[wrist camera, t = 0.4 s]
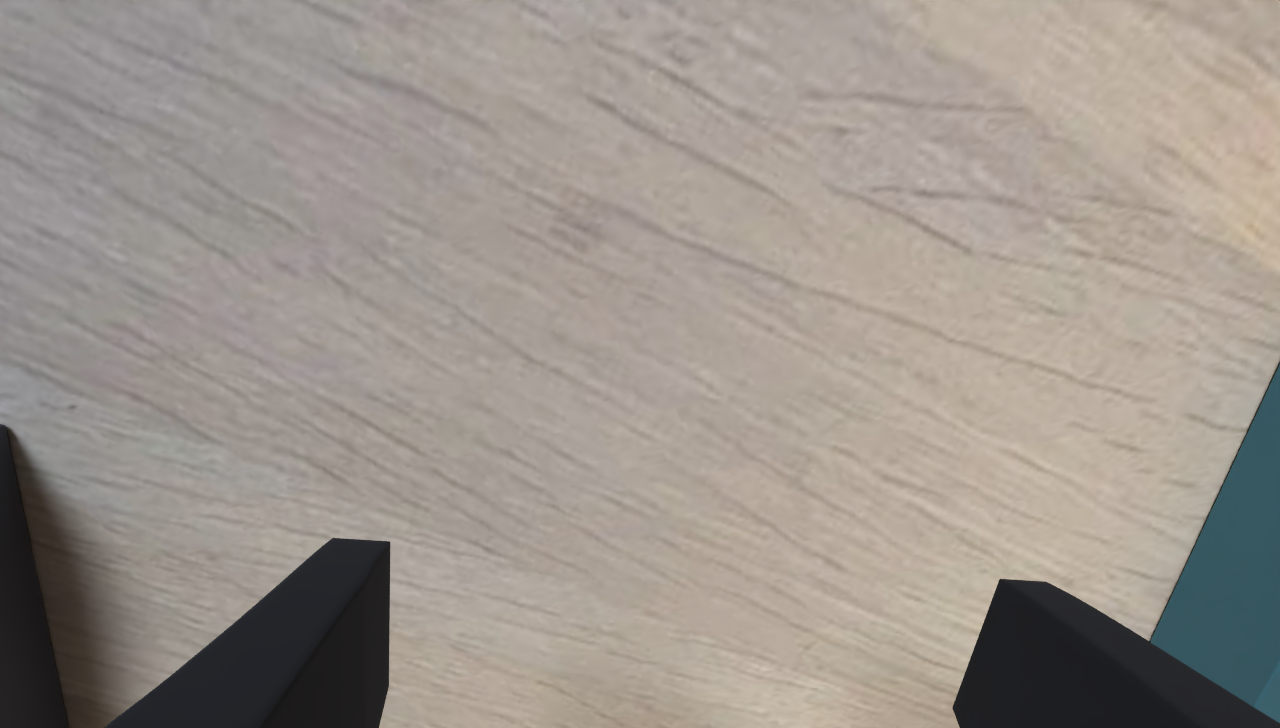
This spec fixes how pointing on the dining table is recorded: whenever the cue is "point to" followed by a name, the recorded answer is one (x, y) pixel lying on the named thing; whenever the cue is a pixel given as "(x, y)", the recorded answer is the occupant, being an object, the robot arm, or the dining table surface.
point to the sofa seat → (1236, 576)
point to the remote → (22, 619)
